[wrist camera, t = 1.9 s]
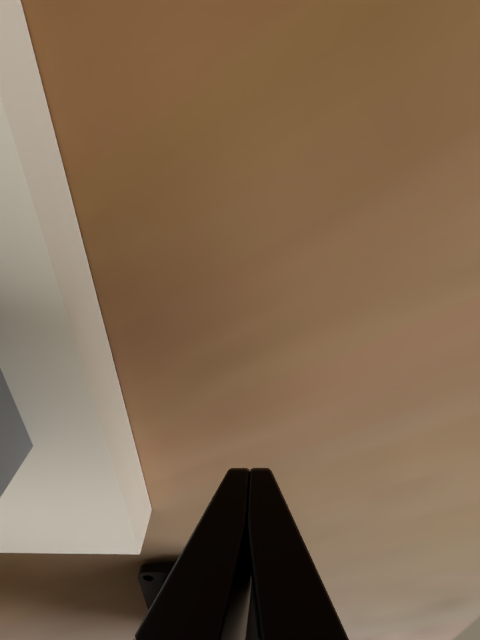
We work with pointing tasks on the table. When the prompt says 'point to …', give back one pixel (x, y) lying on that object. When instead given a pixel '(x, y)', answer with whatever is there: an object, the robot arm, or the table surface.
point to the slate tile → (11, 437)
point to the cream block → (56, 342)
